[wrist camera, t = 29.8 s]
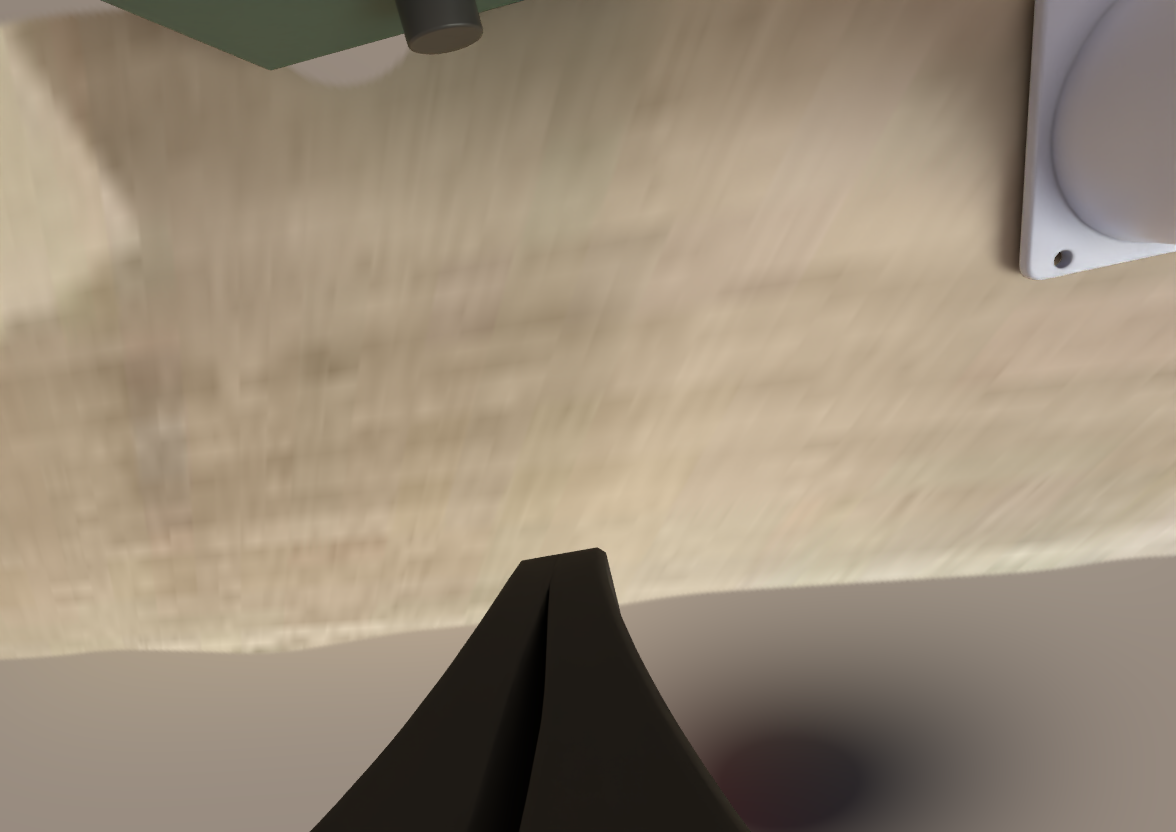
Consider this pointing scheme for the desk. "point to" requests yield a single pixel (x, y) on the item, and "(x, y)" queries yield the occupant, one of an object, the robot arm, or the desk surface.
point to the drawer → (316, 25)
